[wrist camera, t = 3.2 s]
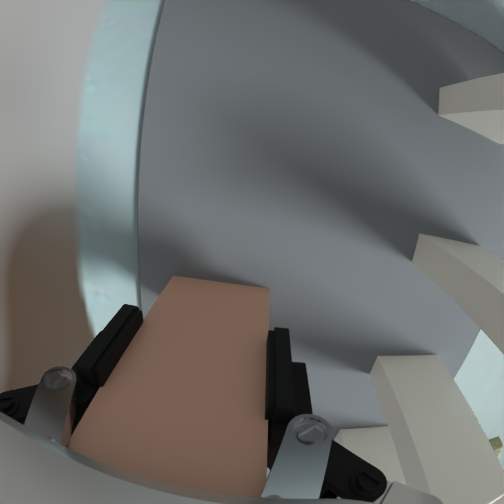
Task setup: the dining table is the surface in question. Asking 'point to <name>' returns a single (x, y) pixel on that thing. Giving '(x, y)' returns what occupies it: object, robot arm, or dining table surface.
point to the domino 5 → (436, 431)
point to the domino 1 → (188, 392)
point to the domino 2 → (374, 449)
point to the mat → (319, 176)
